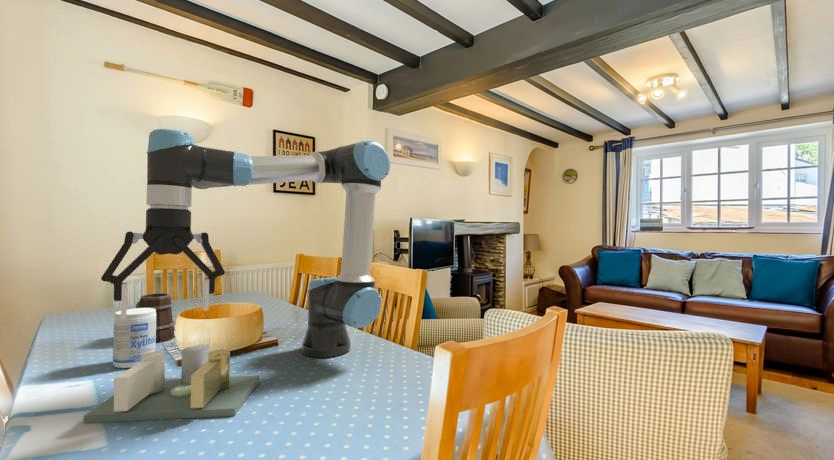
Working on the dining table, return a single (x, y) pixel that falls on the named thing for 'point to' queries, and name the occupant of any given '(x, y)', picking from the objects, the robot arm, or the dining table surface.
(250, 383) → the base
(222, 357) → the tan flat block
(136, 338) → the supplement tub
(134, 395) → the cream piece
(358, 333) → the dining table surface
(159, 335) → the mug
